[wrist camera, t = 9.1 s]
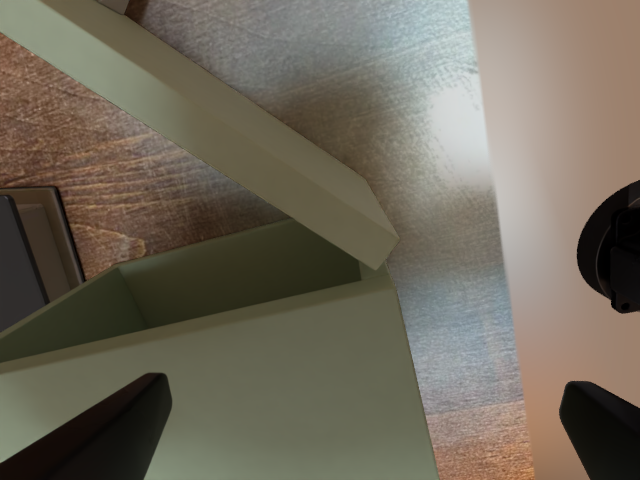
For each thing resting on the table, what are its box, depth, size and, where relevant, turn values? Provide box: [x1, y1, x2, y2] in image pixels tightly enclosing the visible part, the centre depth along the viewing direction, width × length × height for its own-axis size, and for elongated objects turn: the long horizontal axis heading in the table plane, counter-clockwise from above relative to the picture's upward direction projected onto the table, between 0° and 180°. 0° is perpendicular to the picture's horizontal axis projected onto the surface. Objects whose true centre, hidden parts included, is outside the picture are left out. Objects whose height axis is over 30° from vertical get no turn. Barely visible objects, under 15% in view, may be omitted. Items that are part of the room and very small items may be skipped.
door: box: [0, 0, 400, 270], centre depth 11 cm, size 6×16×10 cm, turn 57°
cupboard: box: [0, 218, 440, 480], centre depth 15 cm, size 11×16×11 cm
